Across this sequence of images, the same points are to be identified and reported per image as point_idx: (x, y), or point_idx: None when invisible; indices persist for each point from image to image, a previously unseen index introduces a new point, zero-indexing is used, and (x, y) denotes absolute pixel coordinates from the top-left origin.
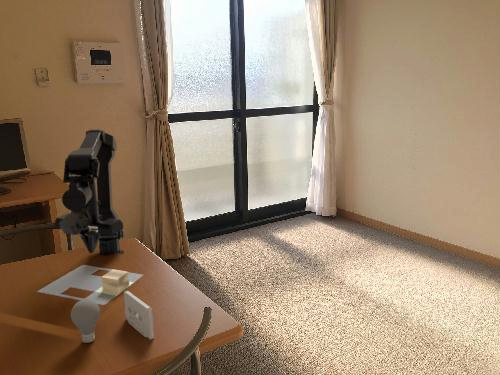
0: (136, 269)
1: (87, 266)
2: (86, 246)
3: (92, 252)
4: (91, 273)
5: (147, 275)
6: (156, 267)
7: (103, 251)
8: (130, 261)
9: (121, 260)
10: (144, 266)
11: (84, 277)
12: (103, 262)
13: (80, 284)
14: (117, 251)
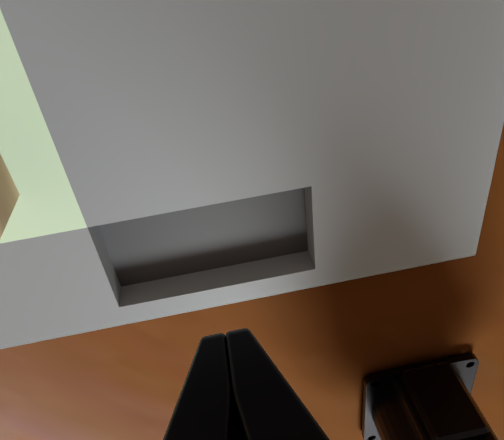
0: (138, 373)
1: (426, 254)
2: (296, 416)
3: (202, 353)
4: (319, 203)
5: (4, 365)
6: (57, 430)
7: (436, 399)
8: None
9: (309, 388)
10: (129, 409)
11: (322, 133)
12: (392, 335)
13: (252, 20)
14: (377, 428)
